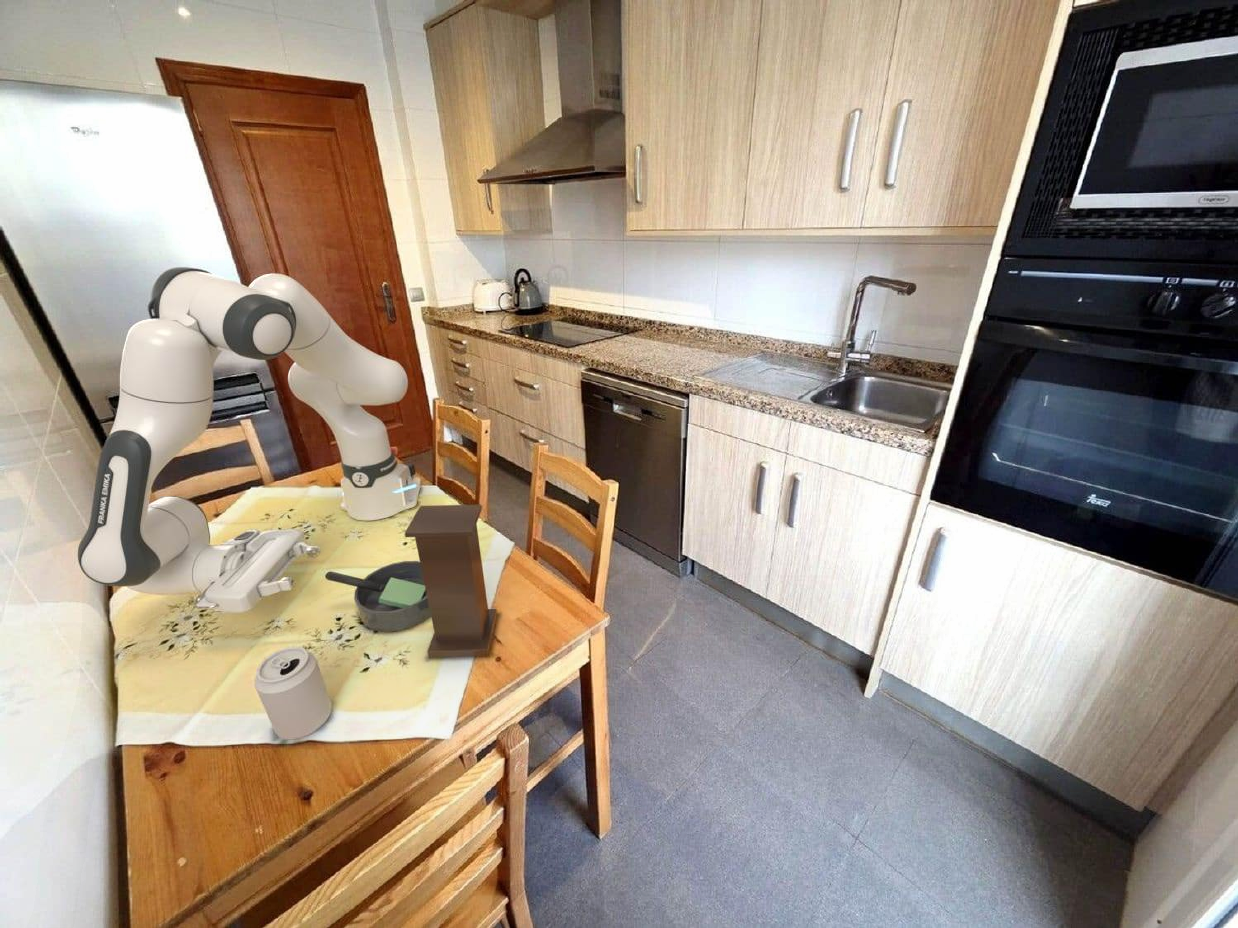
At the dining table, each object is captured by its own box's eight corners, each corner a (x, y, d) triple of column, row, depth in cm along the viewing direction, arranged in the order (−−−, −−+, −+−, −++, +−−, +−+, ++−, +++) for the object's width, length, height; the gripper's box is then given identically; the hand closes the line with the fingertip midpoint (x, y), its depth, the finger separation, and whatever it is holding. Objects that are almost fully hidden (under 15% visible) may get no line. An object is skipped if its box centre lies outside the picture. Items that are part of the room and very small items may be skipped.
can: (308, 748, 71) (284, 689, 66) (263, 737, 72) (236, 679, 67) (344, 703, 78) (325, 646, 72) (302, 694, 79) (280, 637, 74)
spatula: (317, 588, 91) (318, 581, 91) (332, 567, 97) (333, 561, 96) (416, 611, 95) (417, 605, 94) (425, 590, 100) (427, 584, 100)
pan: (377, 579, 104) (372, 561, 102) (450, 577, 105) (447, 559, 103) (345, 633, 91) (340, 614, 89) (430, 630, 91) (426, 611, 89)
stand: (443, 616, 95) (422, 502, 84) (497, 614, 95) (482, 501, 84) (428, 658, 86) (402, 536, 75) (487, 656, 86) (470, 535, 75)
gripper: (180, 593, 81) (268, 591, 82) (255, 524, 100) (326, 522, 100) (194, 623, 84) (279, 620, 85) (264, 550, 102) (334, 548, 103)
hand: (305, 566), depth 93 cm, fingers open, 8 cm apart
